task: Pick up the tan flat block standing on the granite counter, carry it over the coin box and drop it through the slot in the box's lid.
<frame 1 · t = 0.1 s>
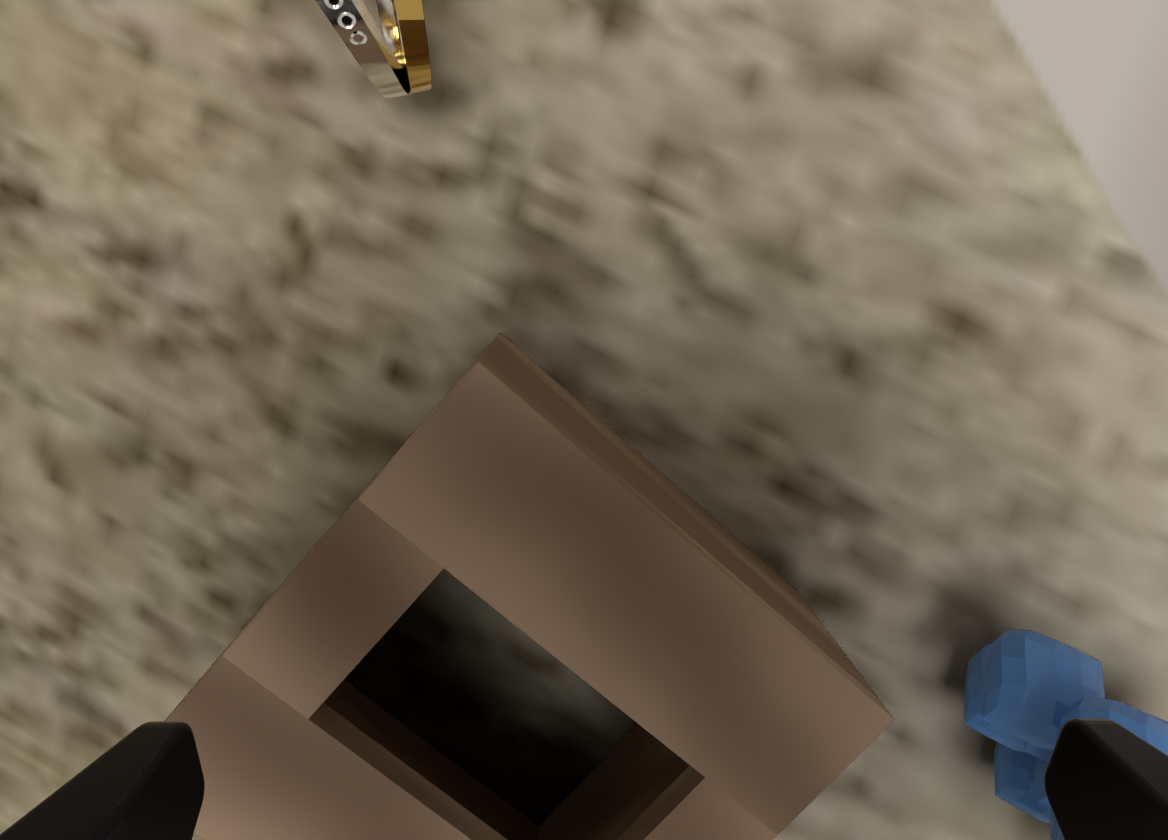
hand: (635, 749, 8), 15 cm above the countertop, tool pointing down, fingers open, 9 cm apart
coin box: (522, 612, 24), on the countertop
grapes: (1036, 717, 26), on the countertop
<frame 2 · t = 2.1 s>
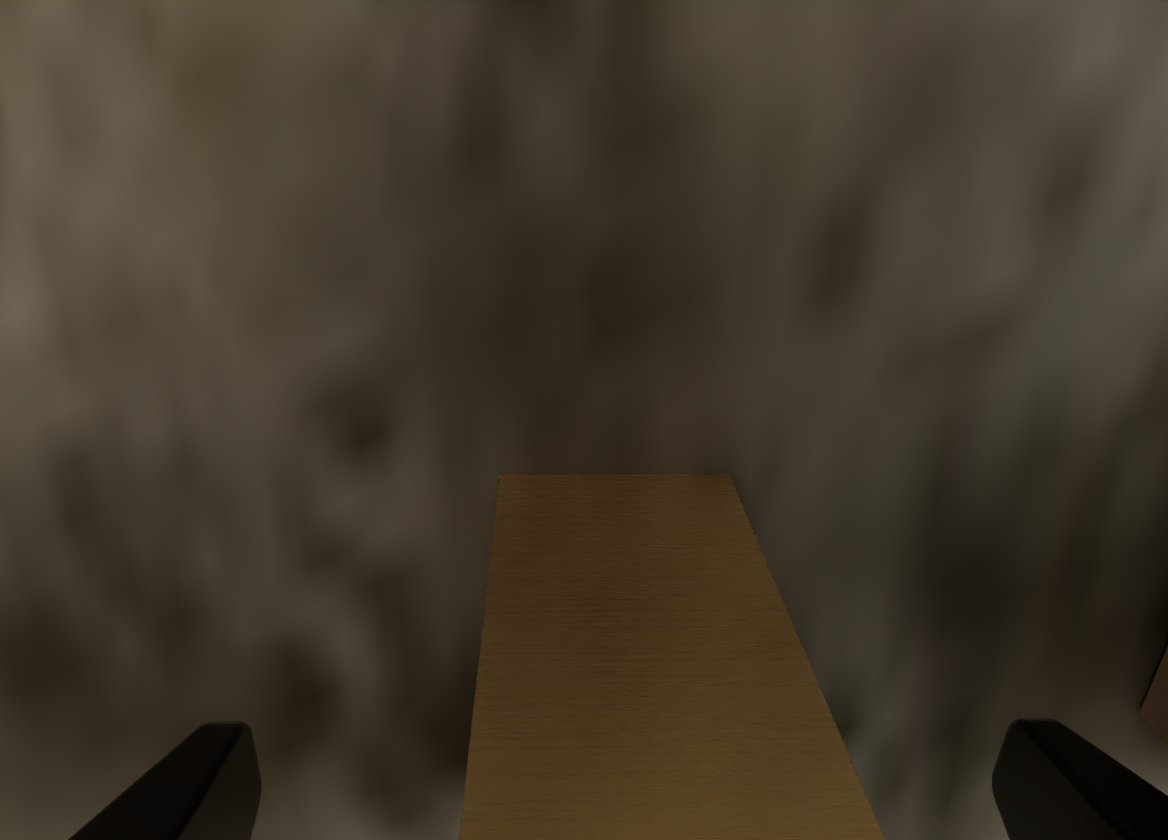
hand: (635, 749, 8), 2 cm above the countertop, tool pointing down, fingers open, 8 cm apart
tan flat block: (606, 653, 10), on the countertop
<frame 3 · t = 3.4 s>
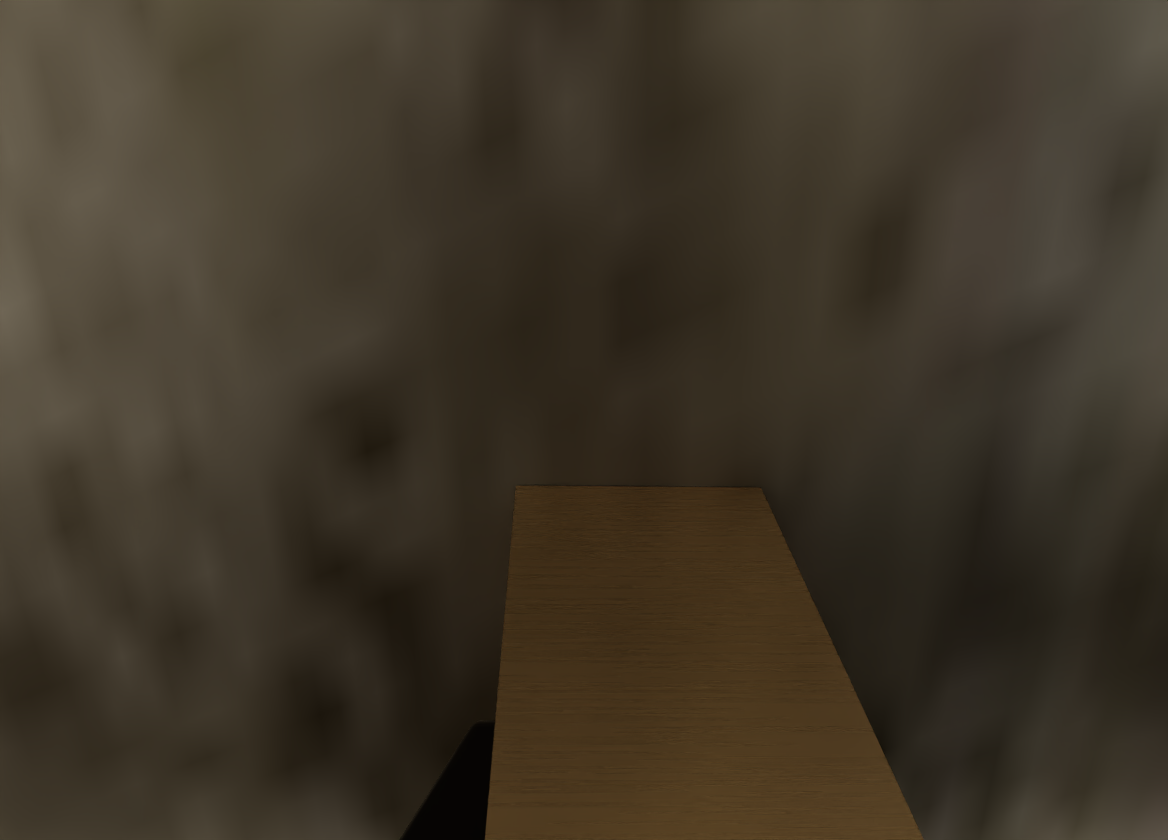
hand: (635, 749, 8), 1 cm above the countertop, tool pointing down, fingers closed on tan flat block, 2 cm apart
tan flat block: (626, 675, 9), on the countertop, touching gripper
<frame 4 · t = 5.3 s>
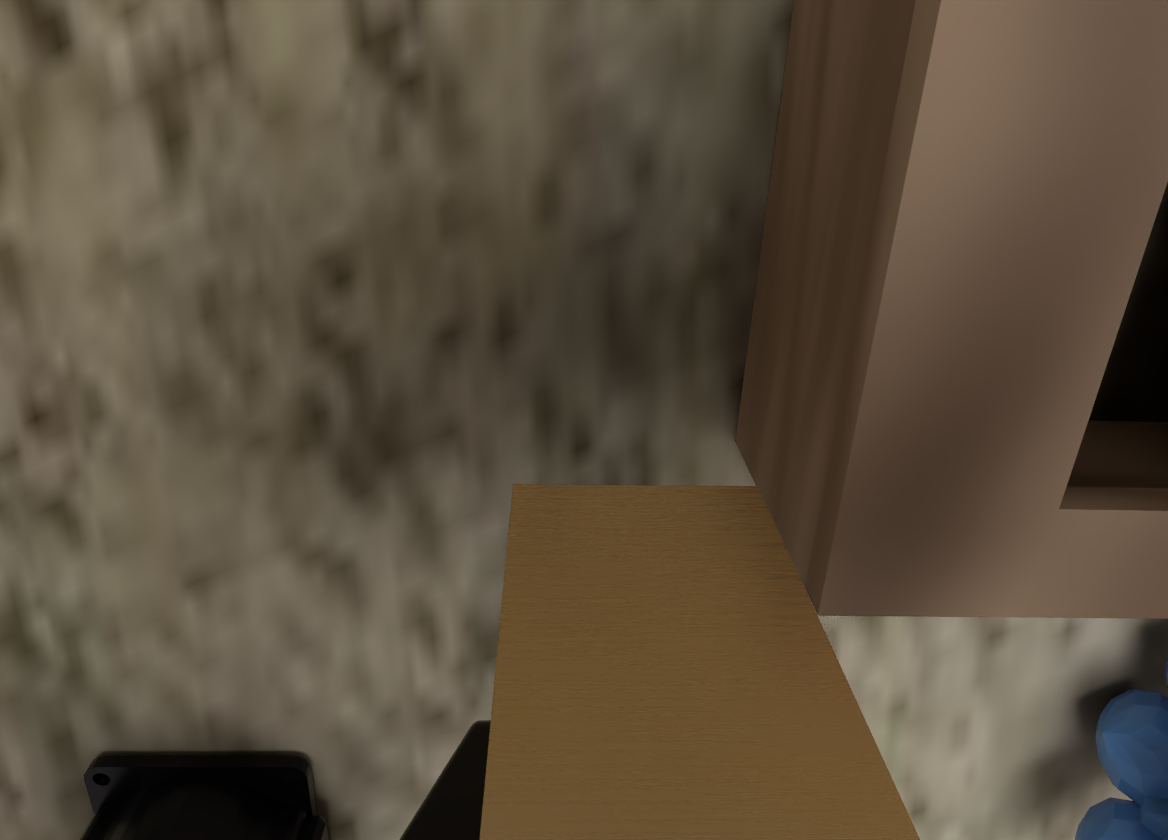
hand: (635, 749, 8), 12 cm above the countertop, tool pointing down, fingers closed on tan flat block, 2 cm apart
coin box: (1025, 211, 18), on the countertop
grapes: (1140, 704, 25), on the countertop
tan flat block: (624, 675, 9), point 11 cm above the countertop, touching gripper
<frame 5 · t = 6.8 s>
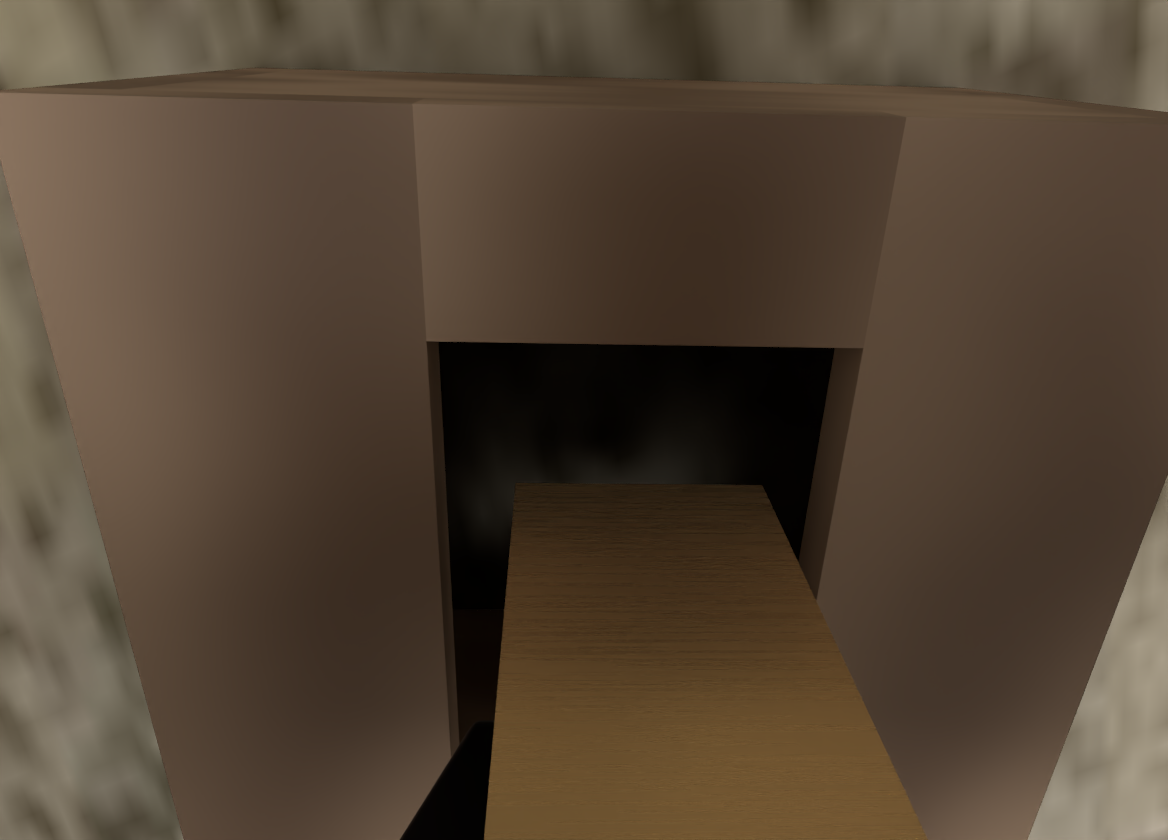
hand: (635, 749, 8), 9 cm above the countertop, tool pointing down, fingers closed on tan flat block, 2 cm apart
coin box: (600, 401, 16), on the countertop
tan flat block: (627, 674, 9), point 8 cm above the countertop, touching gripper
when the fingers open (8 cm above the countertop, at t = 7.6 s): tan flat block drops 7 cm, resting in coin box.
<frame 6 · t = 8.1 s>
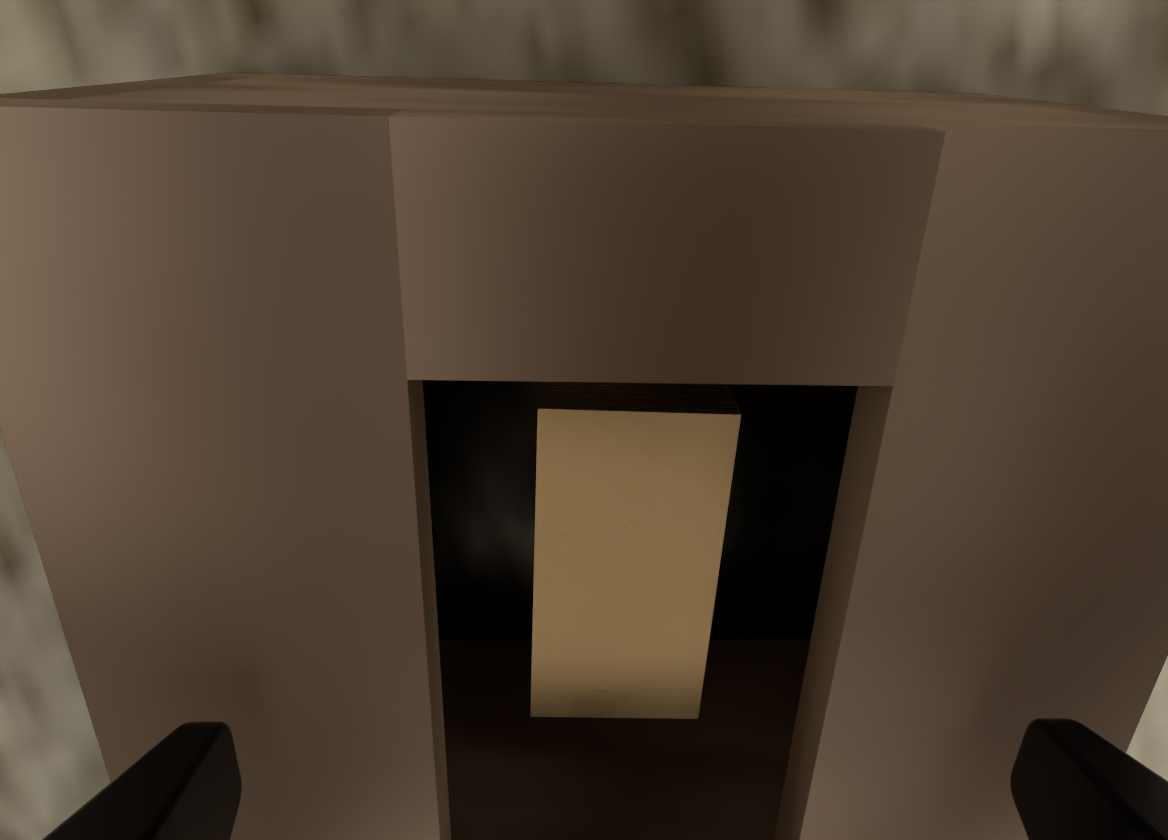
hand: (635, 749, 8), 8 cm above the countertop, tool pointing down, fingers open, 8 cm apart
coin box: (600, 423, 15), on the countertop
tan flat block: (606, 422, 15), resting in coin box
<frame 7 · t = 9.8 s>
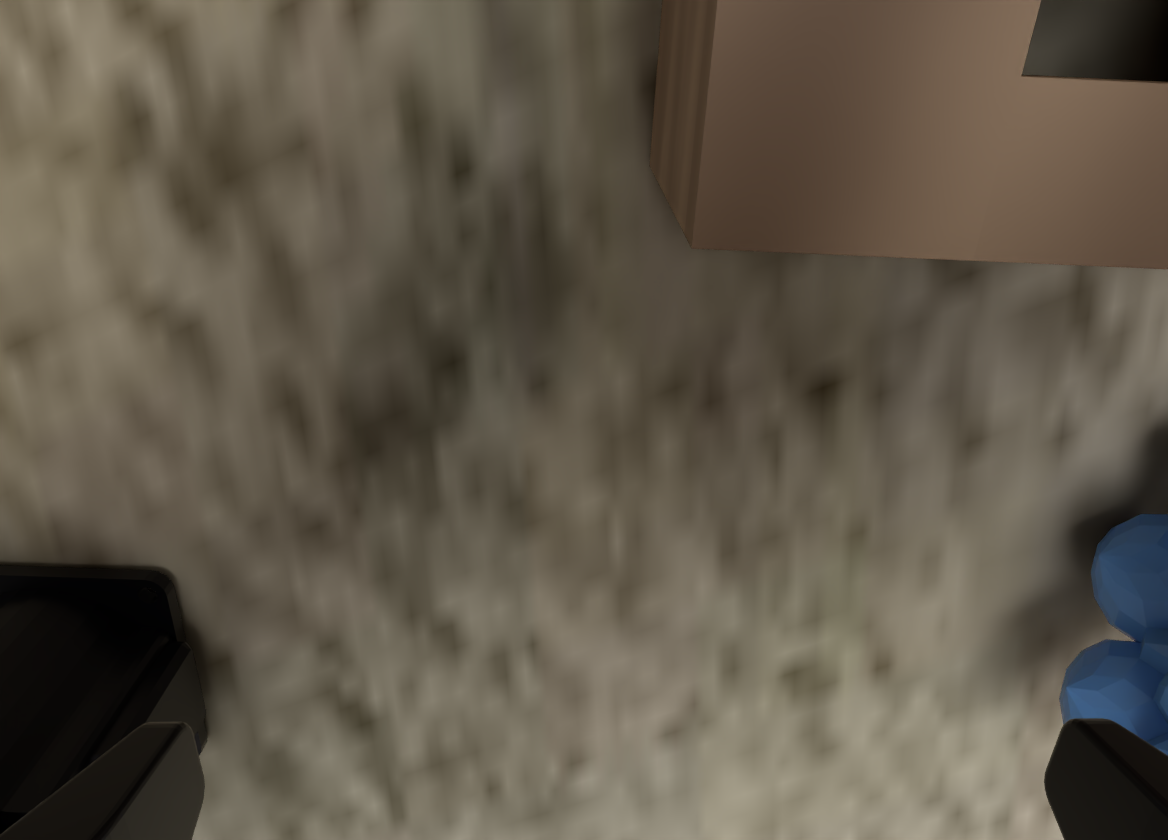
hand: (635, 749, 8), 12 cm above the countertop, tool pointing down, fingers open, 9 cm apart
grapes: (1147, 539, 21), on the countertop
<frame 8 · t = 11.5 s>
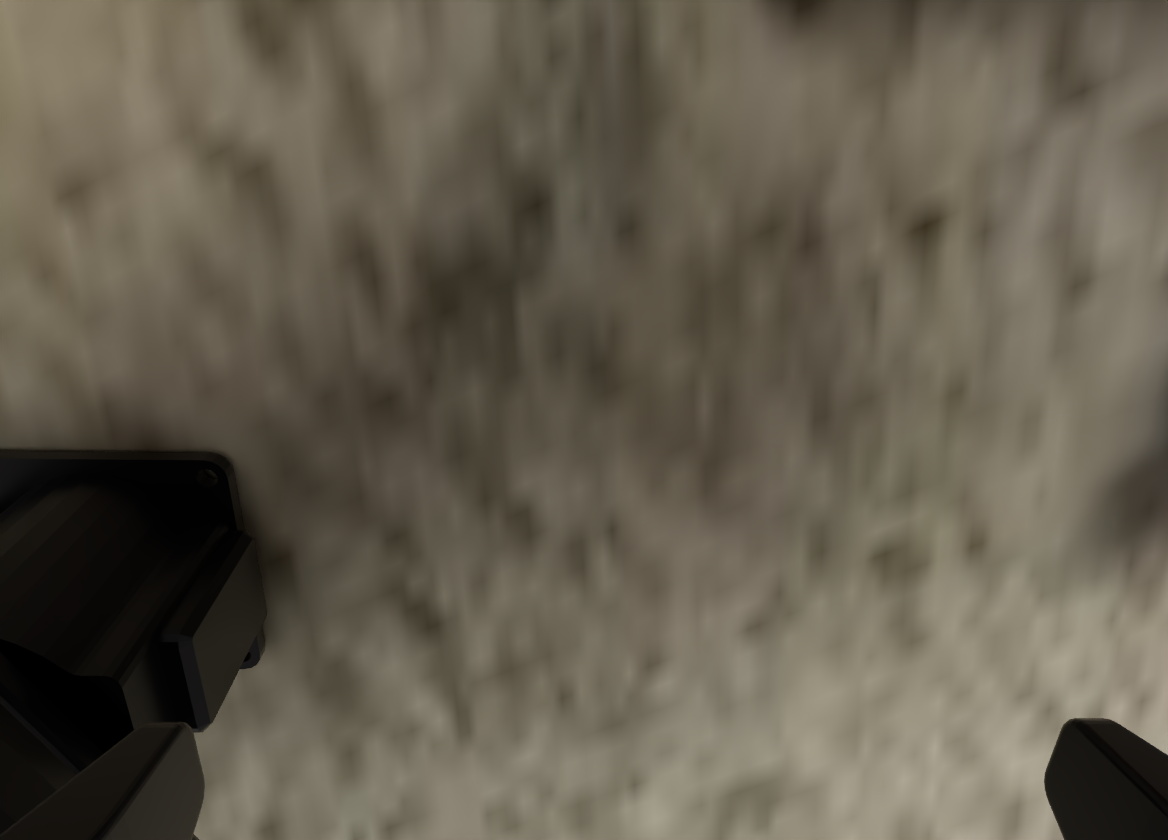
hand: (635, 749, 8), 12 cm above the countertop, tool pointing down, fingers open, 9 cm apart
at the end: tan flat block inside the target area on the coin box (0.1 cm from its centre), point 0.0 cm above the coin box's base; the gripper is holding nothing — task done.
